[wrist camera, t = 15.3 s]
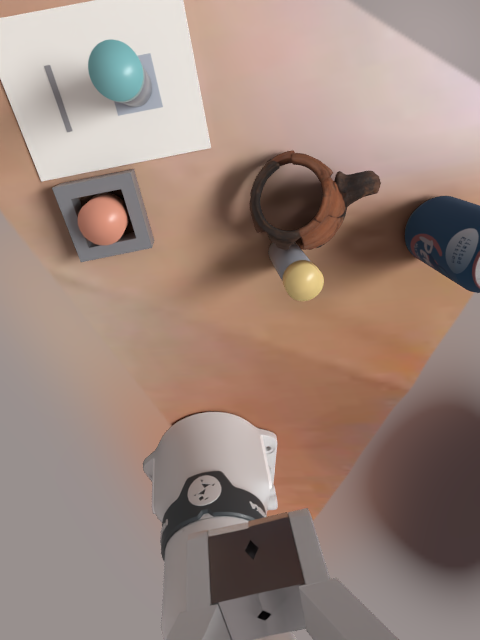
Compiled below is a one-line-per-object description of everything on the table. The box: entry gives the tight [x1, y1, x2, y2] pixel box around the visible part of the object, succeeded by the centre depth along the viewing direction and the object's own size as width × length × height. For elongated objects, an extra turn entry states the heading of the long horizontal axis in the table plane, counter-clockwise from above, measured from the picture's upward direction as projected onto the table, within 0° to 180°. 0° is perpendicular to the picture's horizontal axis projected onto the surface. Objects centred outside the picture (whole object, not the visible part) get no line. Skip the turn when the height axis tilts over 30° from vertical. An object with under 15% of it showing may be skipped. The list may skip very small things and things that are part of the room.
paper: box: [0, 0, 211, 181], centre depth 34 cm, size 12×16×1 cm
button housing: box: [52, 169, 154, 262], centre depth 37 cm, size 7×7×2 cm
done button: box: [78, 193, 130, 245], centre depth 36 cm, size 4×4×4 cm
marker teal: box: [88, 39, 152, 107], centre depth 29 cm, size 3×3×9 cm
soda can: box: [405, 196, 480, 293], centre depth 38 cm, size 7×7×12 cm
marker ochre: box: [268, 242, 324, 301], centre depth 38 cm, size 3×3×9 cm
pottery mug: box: [250, 151, 381, 250], centre depth 38 cm, size 12×10×8 cm
